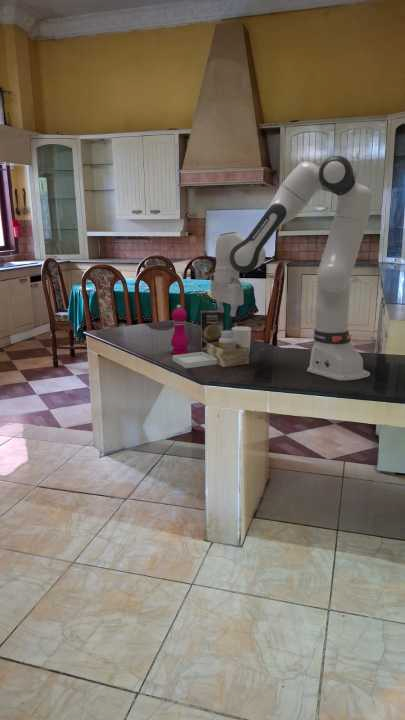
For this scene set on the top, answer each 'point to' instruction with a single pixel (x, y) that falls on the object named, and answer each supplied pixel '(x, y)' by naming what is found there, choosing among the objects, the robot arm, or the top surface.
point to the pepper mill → (179, 332)
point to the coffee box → (210, 327)
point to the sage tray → (194, 360)
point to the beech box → (229, 354)
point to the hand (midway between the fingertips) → (226, 314)
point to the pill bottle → (227, 340)
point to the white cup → (242, 336)
